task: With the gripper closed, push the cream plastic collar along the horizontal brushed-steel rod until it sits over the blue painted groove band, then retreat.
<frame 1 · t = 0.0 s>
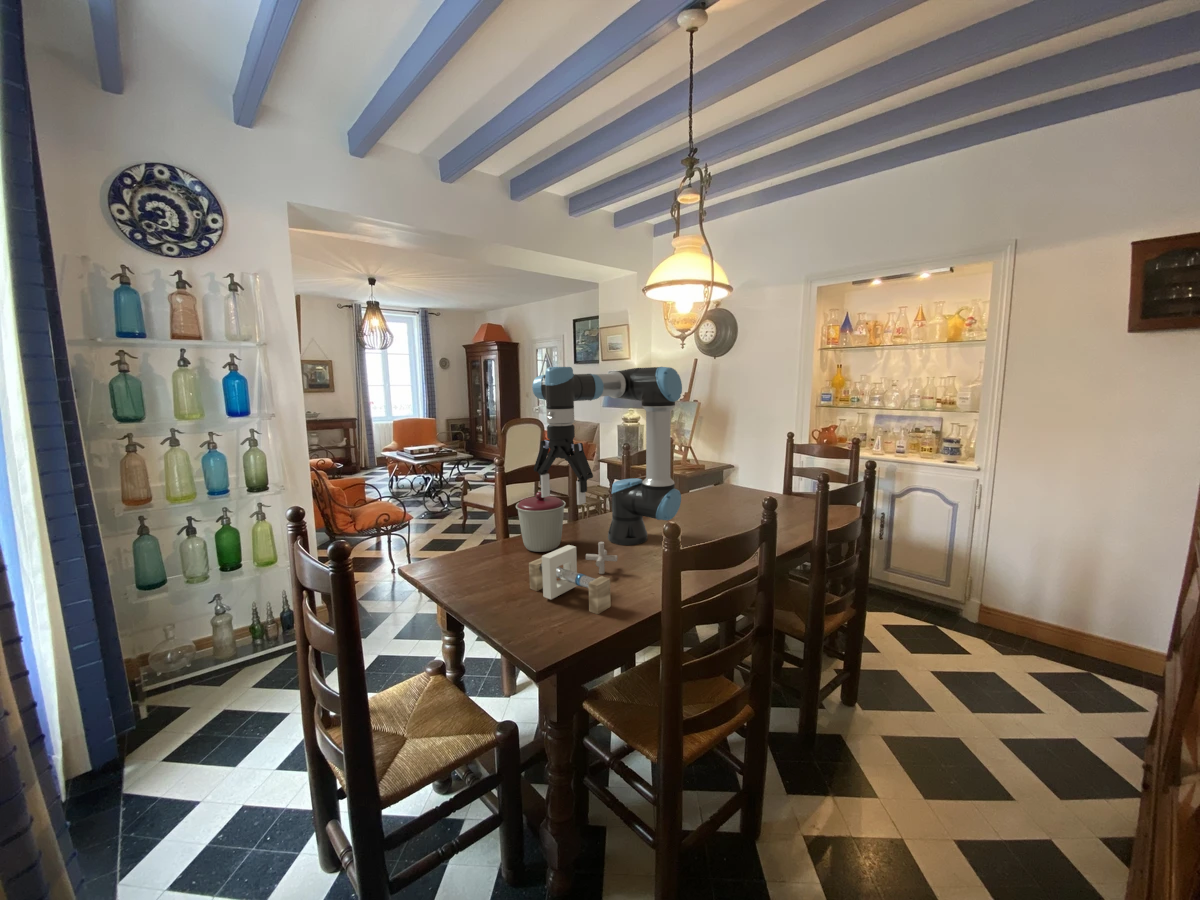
hand: (563, 500, 133), 28 cm above the table, fingers open, 13 cm apart
collar: (560, 571, 136), point 7 cm above the table, slide at 0.0 cm
steel rod: (567, 575, 134), point 6 cm above the table
pipe connector: (601, 573, 152), on the table
rod support stand: (568, 597, 135), on the table
canister: (542, 547, 176), on the table
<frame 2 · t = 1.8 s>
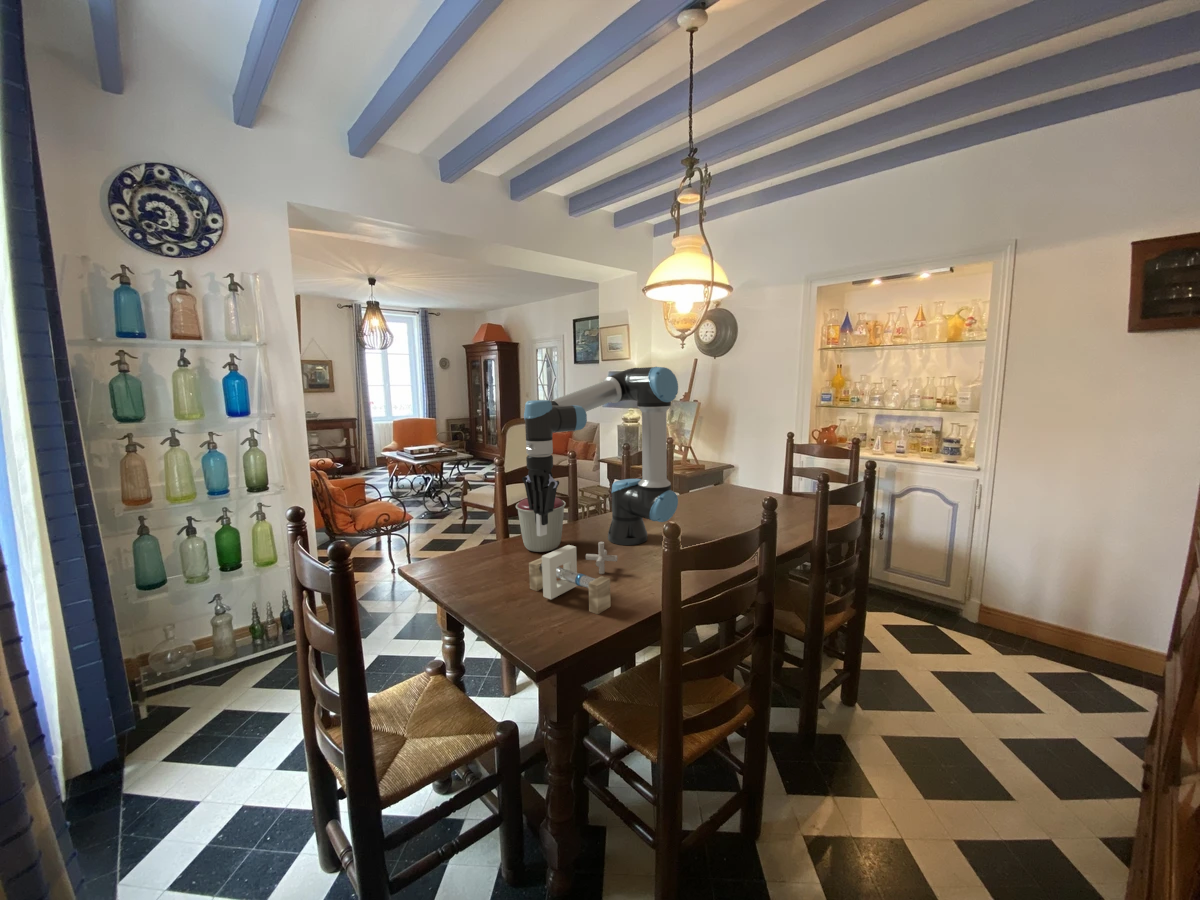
hand: (541, 534, 138), 17 cm above the table, fingers closed
nothing on the table moved.
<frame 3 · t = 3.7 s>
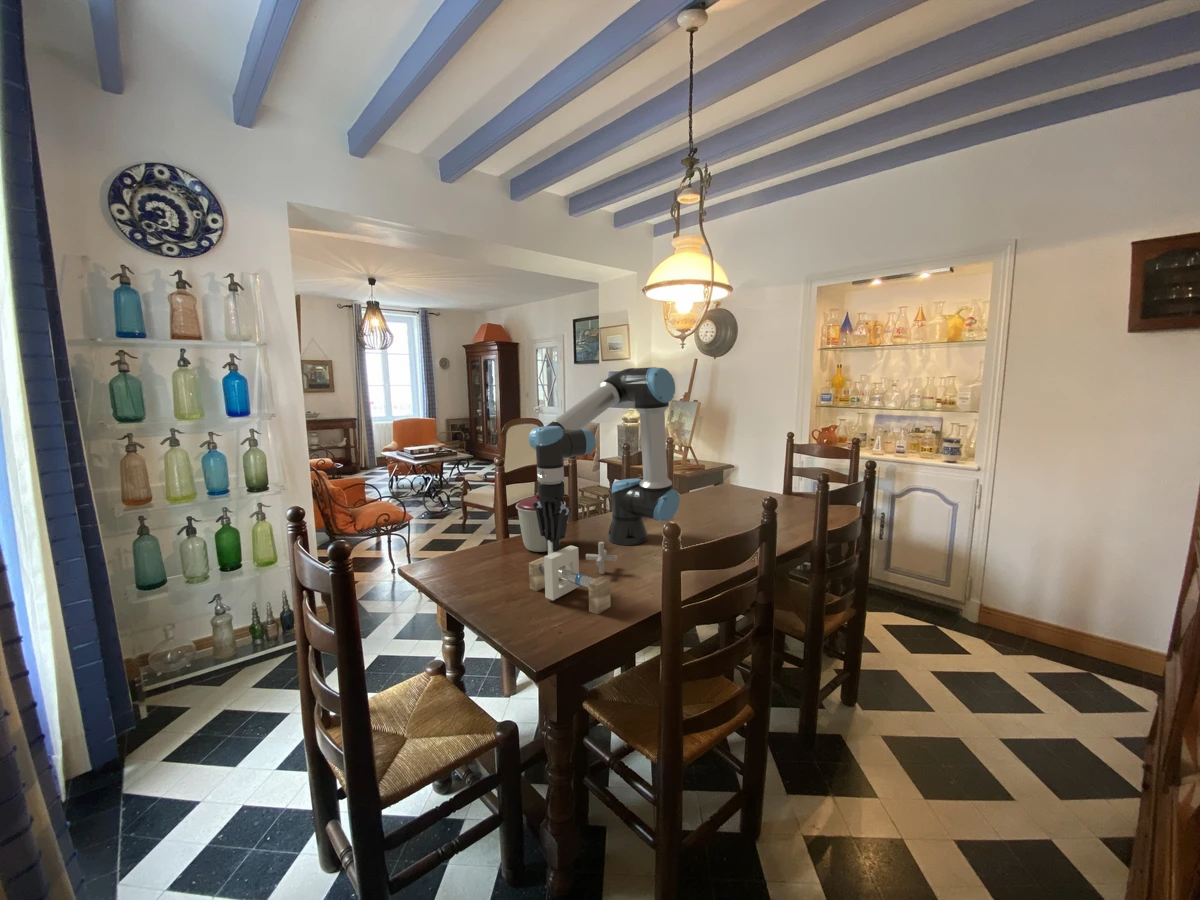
hand: (553, 561, 137), 9 cm above the table, fingers closed
collar: (562, 572, 136), point 7 cm above the table, slide at 0.8 cm, touching gripper
everything else where it was.
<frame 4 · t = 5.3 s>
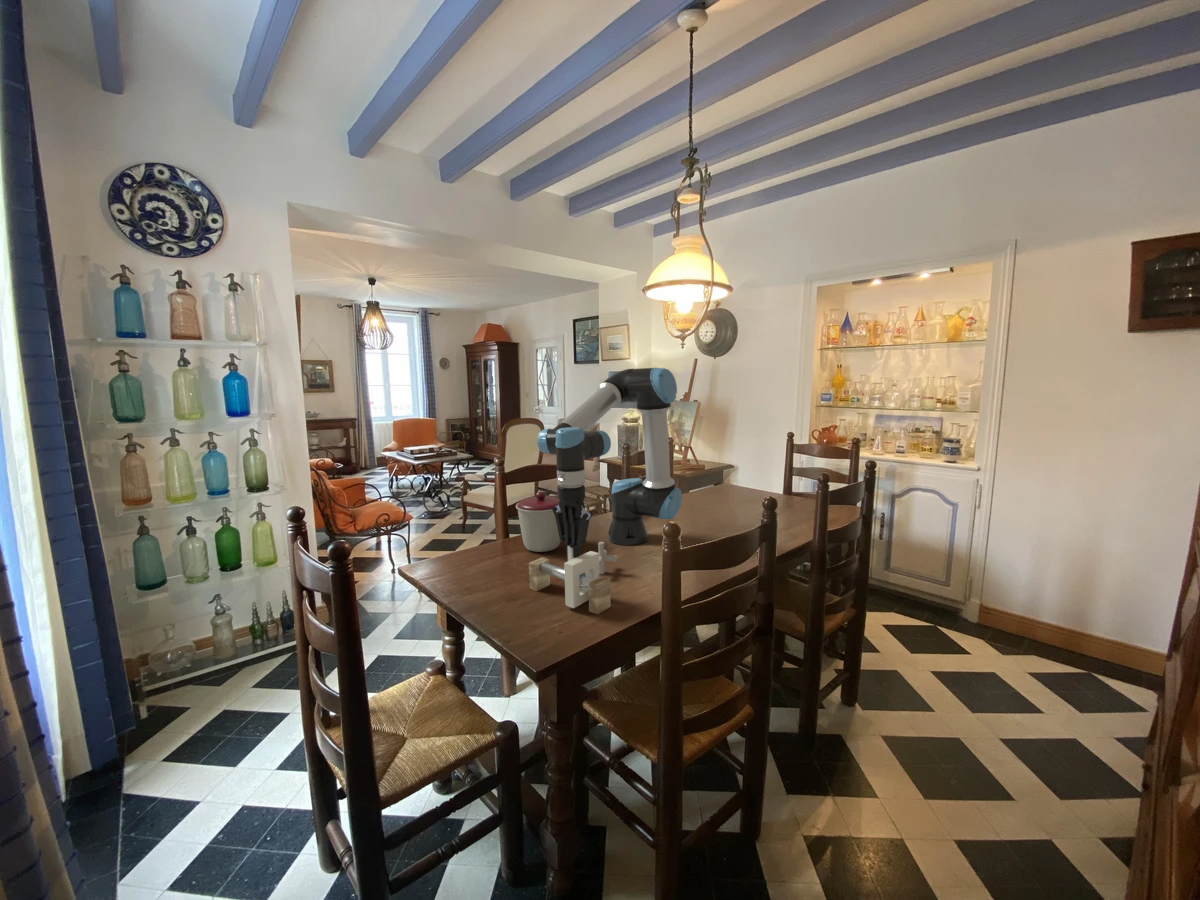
hand: (573, 567, 132), 9 cm above the table, fingers closed
collar: (582, 578, 131), point 7 cm above the table, slide at 8.5 cm, touching gripper
everything else where it was.
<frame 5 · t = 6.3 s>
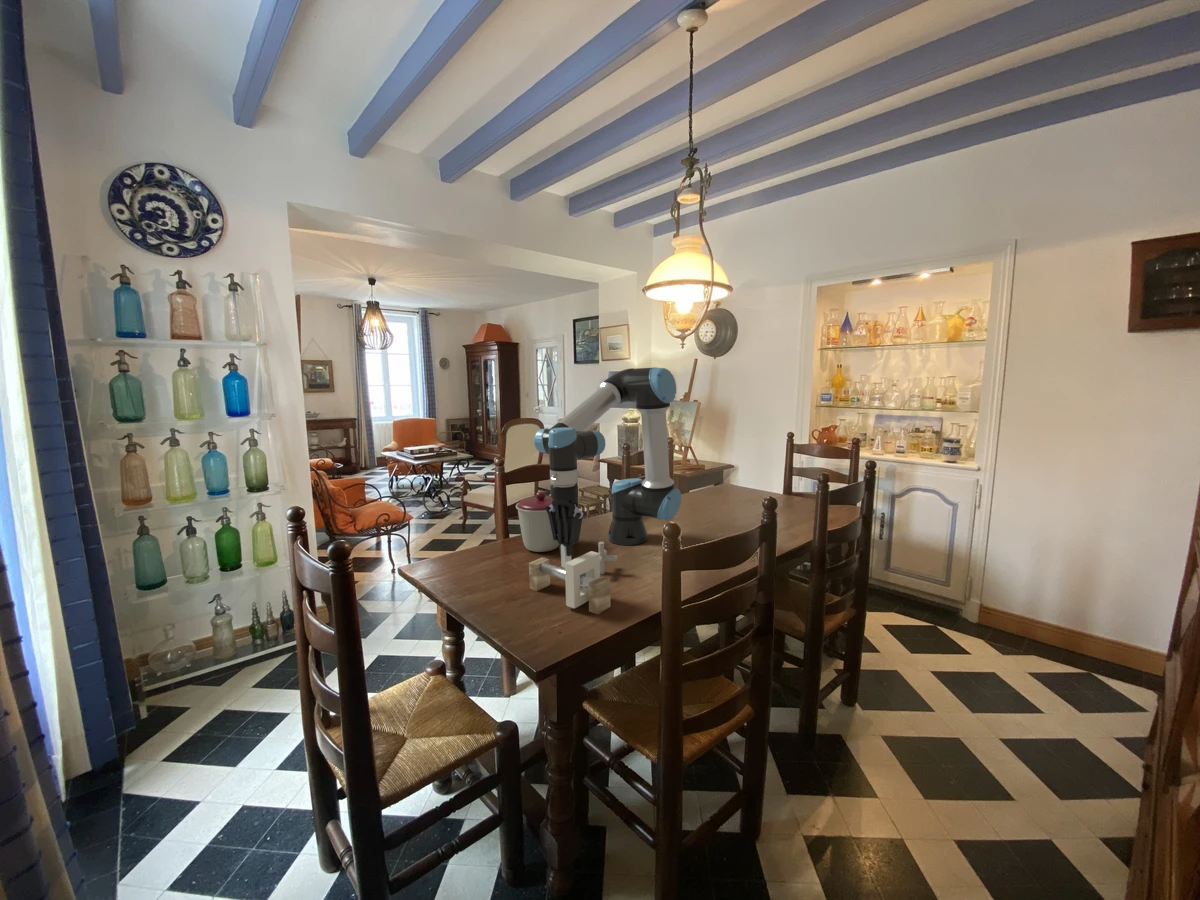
hand: (566, 565, 134), 9 cm above the table, fingers closed
collar: (583, 578, 131), point 7 cm above the table, slide at 8.7 cm
everything else where it was.
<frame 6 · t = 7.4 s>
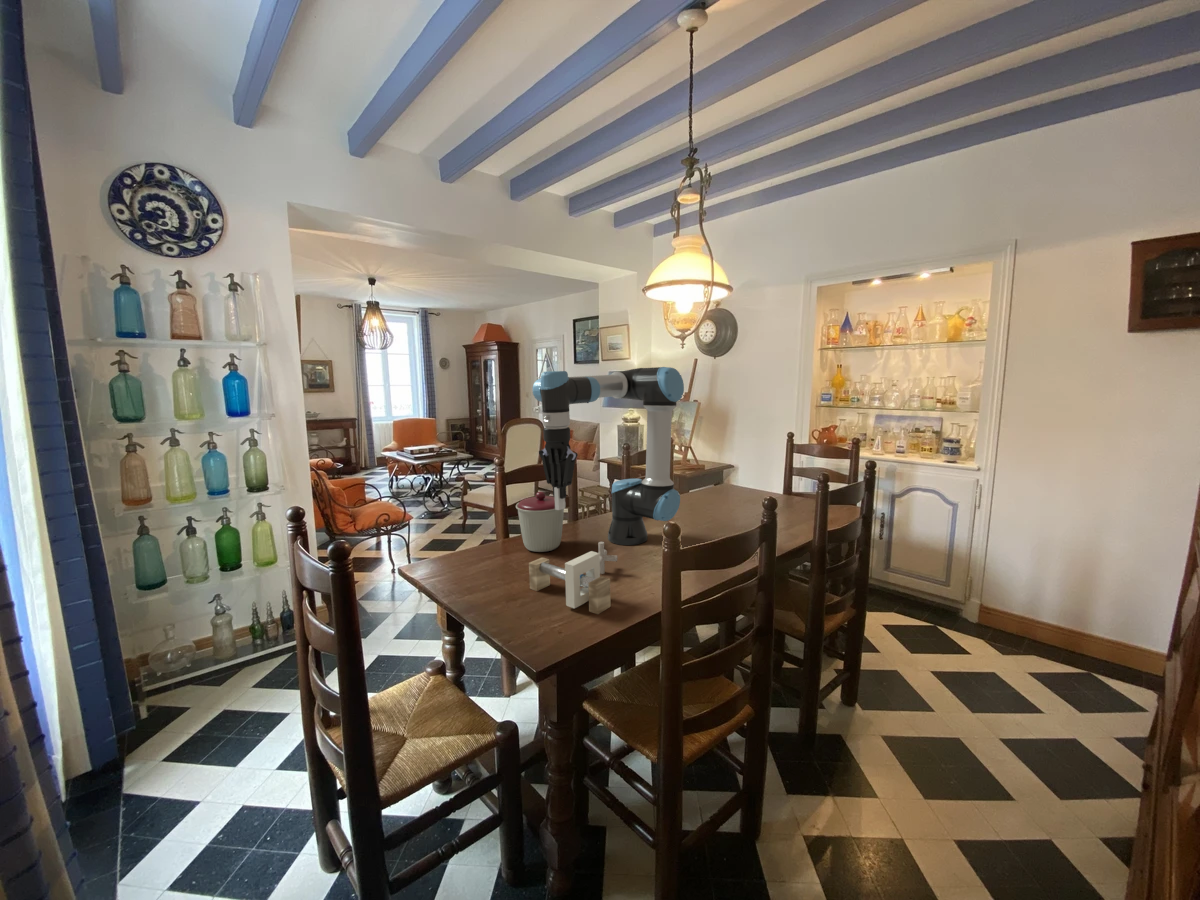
hand: (560, 508, 136), 25 cm above the table, fingers closed
nothing on the table moved.
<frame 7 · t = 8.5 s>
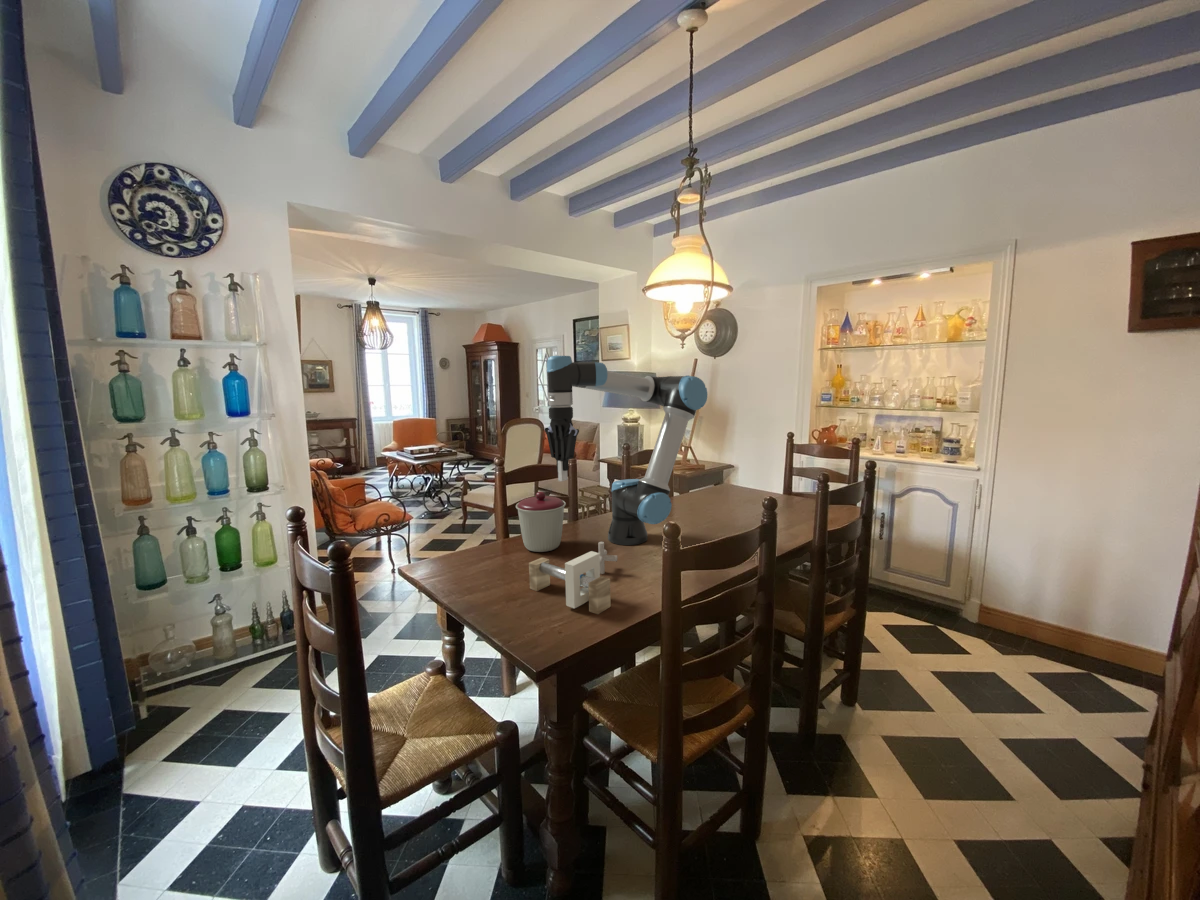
hand: (563, 480, 152), 29 cm above the table, fingers closed
nothing on the table moved.
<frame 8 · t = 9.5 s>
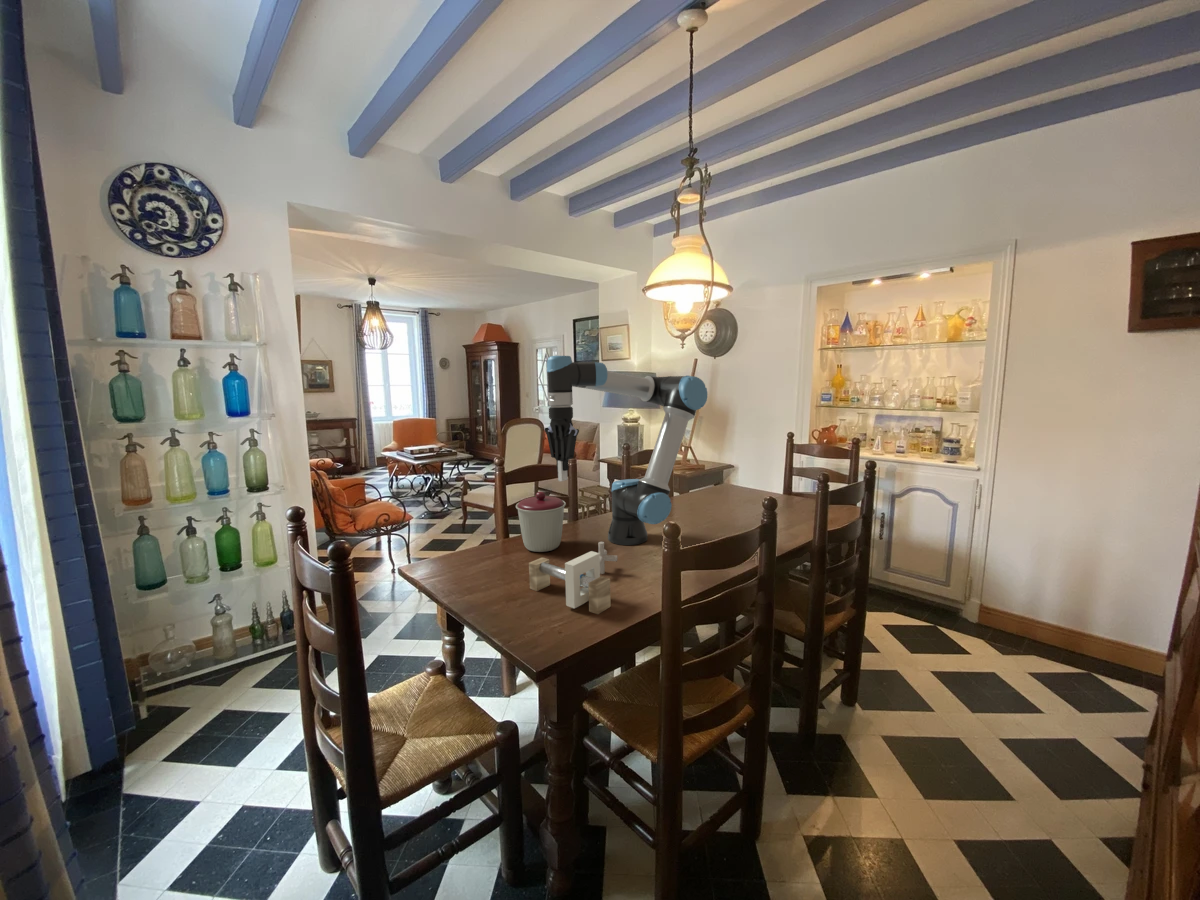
hand: (562, 480, 152), 29 cm above the table, fingers closed
nothing on the table moved.
at the end: collar slide at 8.7 cm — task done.
